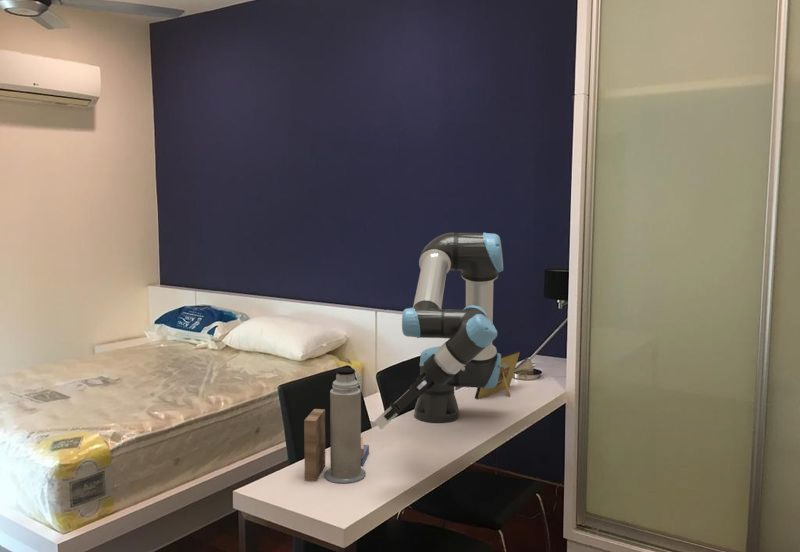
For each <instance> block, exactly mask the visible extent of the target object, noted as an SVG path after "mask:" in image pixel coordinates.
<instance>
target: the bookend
mask: <svg viewBox="0 0 800 552" xmlns="http://www.w3.org/2000/svg"><path fill="white" fill-rule="evenodd" d="M303 421H304V422H303V423H304V424H303V432H304V435H303V436H304V440H303V441H304V445H303V446H304V450H303V451H304V481H305V482H317V480H318V479H319V477H320V476H321V474H322V472H323V471H324V469H326V409H325V408H323V409H321V408H314V409H312V411H311V412H310V413H309V414H308V416H307V417H305V419H304V420H303Z"/></svg>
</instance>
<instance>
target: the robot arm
mask: <svg viewBox="0 0 800 552" xmlns="http://www.w3.org/2000/svg"><path fill="white" fill-rule="evenodd" d="M418 260H419V261H418V265H419V269H420V272H419V277H418V281H417V286H416V292H415V296H414V301H413V306H412V307H409V308H405V309H404V310H403V311H402V317H401V329H402V334H403V335H404V336H405V337H408V338H409V337H410V338H411V337H412V338H416V339H420V338H421V339H422V338H423V339H424V338H425V339H447V341H445V342H444V343H443V344H441V346H433V347H428V348H426V349H424V350H423V351H421V353H420V359H419V376H418V377H417V378H416V380H415V381H414V382H413V383H412V384H411V385H410V387H409V389H408V390H406V392H404V394H402V396H400V397H399V398H398V399H397V400H396V401H395V402H392V401H391V402H390V403H389V407H388V408H386V410H385V411H383V412H382V413H381V414H380V415H379V416H378V417H377V418H376V419H375V420H374V423H375V425H377V427H378V428H379V429H380V430H383V429H384V428H385V427H387V425H388V424H389V423H390V422H391V421H393V419H395V418H396V417H397V416H398V415H399V414H401V413H402V411H403V410H404V409H405V408H406V407H407V406H409V404H410V403H412V402H413V401H414V399H416V398H417V401H416V402H415V407H414V411H413V413H414V417H415V418H416V419H417V420H420V421H423V422H427V423H435V424H436V423H440V424H441V423H450V422H453V421H456V420H457V419H459V418H460V408H459V404H458V401H457V399H456V395H455V387H456V388H457V387H458V388H475V389H476V388H483V389H484V388H493V387H495V386H496V385H497V382H498V378H499V372H500V364H501V356H502V354H501V353H499V352H498V351H497V350H498V349H497V347H496V346H495V345H494V344H493V341H494V340H495V339H496V338H497V337H498V330H497V329H496V327H495V325H494V323H493V319H494V317H493V316H494V315H493V313H494V281H495V280H497V279H498V277H499V274H500V273H501V272H503V271H504V259H503V248H502V241H501V236H500V235H499V234H497V233H488V232H447V233H443V234H441V235H438V236H436V237H435V238H433V239H432V240H431V241H430V242H428V244H427V245H426V246H425V247H424V248H423V249H422V251H421V254H420V256H419V259H418ZM450 271H457V272H459V271H460V276H461V278H462V279H463V280H464V281H465V307H464V308H463V309H448V308H447V309H445V308H442V307H443V299H444V294H445V293H444V291H445V284H446V278H447V274H448V273H449V272H450Z"/></svg>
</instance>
